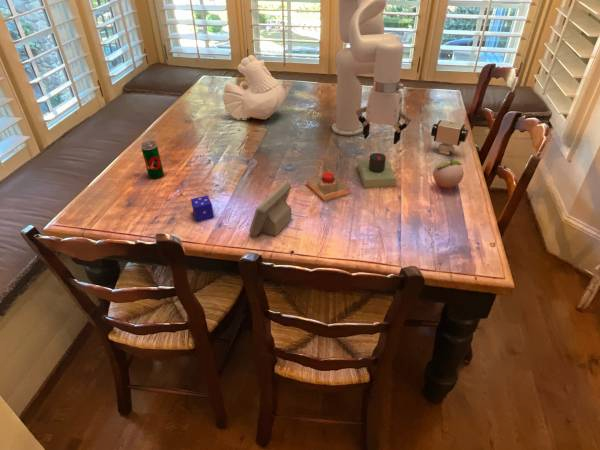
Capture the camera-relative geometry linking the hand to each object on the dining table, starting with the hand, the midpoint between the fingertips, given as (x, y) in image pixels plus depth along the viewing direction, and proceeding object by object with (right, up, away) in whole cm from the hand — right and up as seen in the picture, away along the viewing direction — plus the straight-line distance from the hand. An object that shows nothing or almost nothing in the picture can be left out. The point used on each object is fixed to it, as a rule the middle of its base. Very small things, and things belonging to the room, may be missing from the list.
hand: (380, 139), depth 137 cm
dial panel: (0, -11, +8) cm, 14 cm away
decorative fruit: (+21, -15, +2) cm, 26 cm away
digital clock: (-34, -27, -12) cm, 45 cm away
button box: (-17, -16, +2) cm, 23 cm away
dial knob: (0, -8, +6) cm, 11 cm away
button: (-17, -13, 0) cm, 21 cm away
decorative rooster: (-45, +19, +50) cm, 70 cm away
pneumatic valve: (+28, 0, +22) cm, 35 cm away
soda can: (-75, -10, +11) cm, 76 cm away
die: (-54, -24, -8) cm, 60 cm away
